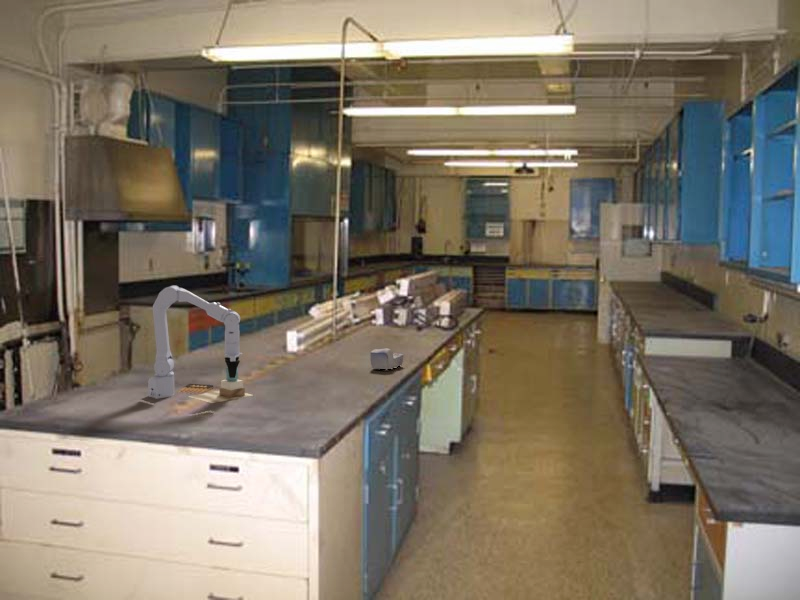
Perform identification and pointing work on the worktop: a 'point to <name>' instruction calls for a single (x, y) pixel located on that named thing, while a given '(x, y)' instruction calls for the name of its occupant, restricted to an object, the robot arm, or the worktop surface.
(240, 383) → the tower top
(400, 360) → the grey stepped block
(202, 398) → the birch board
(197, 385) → the ammunition clip
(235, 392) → the tower base
